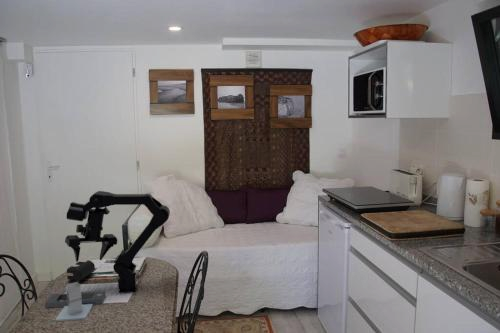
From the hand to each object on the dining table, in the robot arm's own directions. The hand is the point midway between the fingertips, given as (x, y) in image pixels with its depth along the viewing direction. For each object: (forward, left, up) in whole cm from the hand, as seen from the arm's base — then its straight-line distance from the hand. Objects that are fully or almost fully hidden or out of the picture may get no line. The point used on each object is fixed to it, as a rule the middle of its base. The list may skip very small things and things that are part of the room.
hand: (88, 260), depth 154 cm
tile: (+1, +17, -13) cm, 22 cm away
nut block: (+1, +17, -13) cm, 21 cm away
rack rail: (+3, +8, -13) cm, 16 cm away
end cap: (+7, -14, -13) cm, 21 cm away
